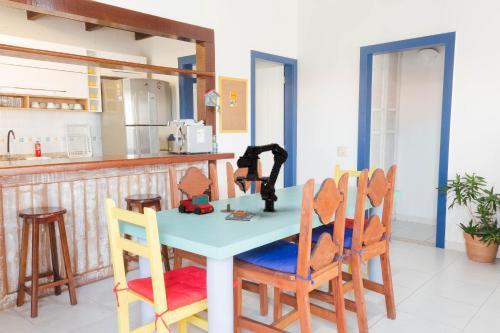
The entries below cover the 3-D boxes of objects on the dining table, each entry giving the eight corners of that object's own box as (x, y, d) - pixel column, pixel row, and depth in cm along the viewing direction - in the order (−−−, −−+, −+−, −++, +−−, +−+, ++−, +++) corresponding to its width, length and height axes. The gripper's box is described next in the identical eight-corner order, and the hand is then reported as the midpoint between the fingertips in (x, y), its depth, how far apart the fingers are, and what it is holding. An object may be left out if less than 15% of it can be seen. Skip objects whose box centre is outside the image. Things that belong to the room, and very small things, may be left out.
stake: (222, 210, 239) (222, 202, 238) (238, 211, 236) (238, 202, 236) (218, 214, 229) (218, 205, 228) (234, 214, 227) (234, 206, 226)
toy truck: (199, 217, 221) (199, 197, 220) (177, 212, 235) (177, 193, 234) (215, 214, 230) (214, 195, 229) (193, 209, 243) (192, 191, 242)
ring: (235, 215, 223) (235, 210, 222) (247, 215, 221) (247, 210, 221) (232, 218, 215) (232, 213, 214) (244, 218, 213) (244, 213, 213)
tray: (231, 214, 227) (231, 212, 227) (254, 215, 224) (254, 213, 224) (225, 219, 214) (225, 217, 214) (249, 221, 211) (249, 218, 211)
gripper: (233, 168, 220) (233, 195, 222) (266, 168, 216) (266, 196, 218) (238, 166, 231) (238, 192, 232) (269, 167, 227) (269, 193, 229)
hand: (252, 193), depth 228 cm, fingers open, 9 cm apart
